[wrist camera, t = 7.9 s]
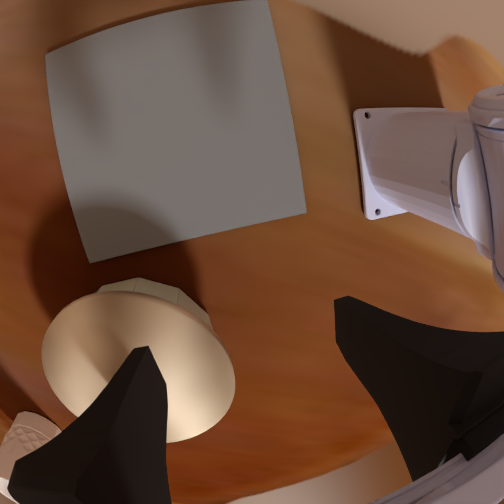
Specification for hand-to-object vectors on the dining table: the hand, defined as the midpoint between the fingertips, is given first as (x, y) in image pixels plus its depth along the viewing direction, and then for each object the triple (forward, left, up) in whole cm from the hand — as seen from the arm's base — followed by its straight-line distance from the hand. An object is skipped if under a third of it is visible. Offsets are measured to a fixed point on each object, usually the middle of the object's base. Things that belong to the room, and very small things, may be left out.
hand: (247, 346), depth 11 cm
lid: (+8, +5, -6) cm, 11 cm away
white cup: (+26, +16, -11) cm, 32 cm away
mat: (+2, -9, -10) cm, 14 cm away
